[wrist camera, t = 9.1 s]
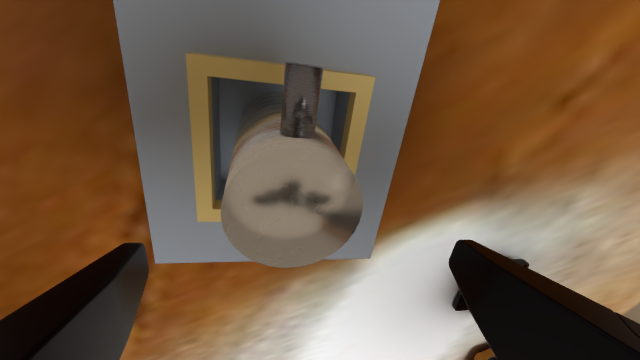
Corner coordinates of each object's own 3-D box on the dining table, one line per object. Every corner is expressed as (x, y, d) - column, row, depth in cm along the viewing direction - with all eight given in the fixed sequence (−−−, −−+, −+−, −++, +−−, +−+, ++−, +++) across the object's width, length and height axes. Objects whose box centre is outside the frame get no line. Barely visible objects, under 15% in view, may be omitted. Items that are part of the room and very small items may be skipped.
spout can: (311, 169, 19) (349, 265, 11) (238, 165, 18) (221, 270, 10) (327, 57, 16) (394, 81, 8) (239, 45, 15) (217, 58, 7)
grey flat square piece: (356, 228, 23) (375, 268, 19) (171, 228, 20) (149, 275, 16) (407, 4, 16) (453, -6, 12) (138, -48, 13) (85, -82, 9)
